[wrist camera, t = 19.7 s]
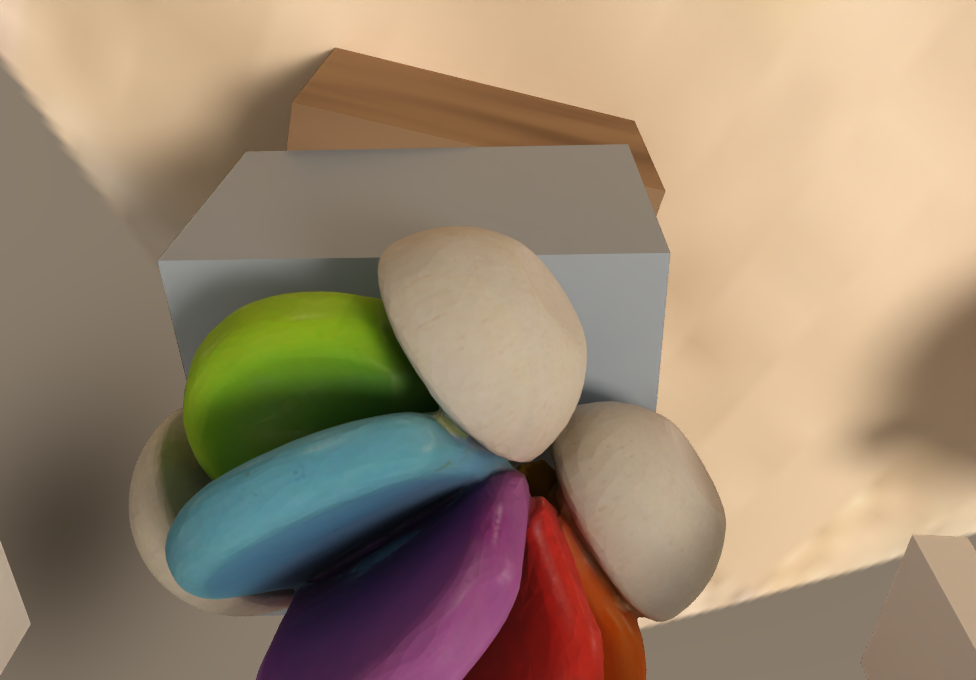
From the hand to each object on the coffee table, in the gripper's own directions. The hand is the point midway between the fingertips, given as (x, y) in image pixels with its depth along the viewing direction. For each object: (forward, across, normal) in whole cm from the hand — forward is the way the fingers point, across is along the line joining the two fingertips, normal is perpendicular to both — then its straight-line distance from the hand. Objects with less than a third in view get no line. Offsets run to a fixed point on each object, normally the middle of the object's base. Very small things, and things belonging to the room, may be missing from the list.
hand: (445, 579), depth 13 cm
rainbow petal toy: (+5, 0, -1) cm, 5 cm away
